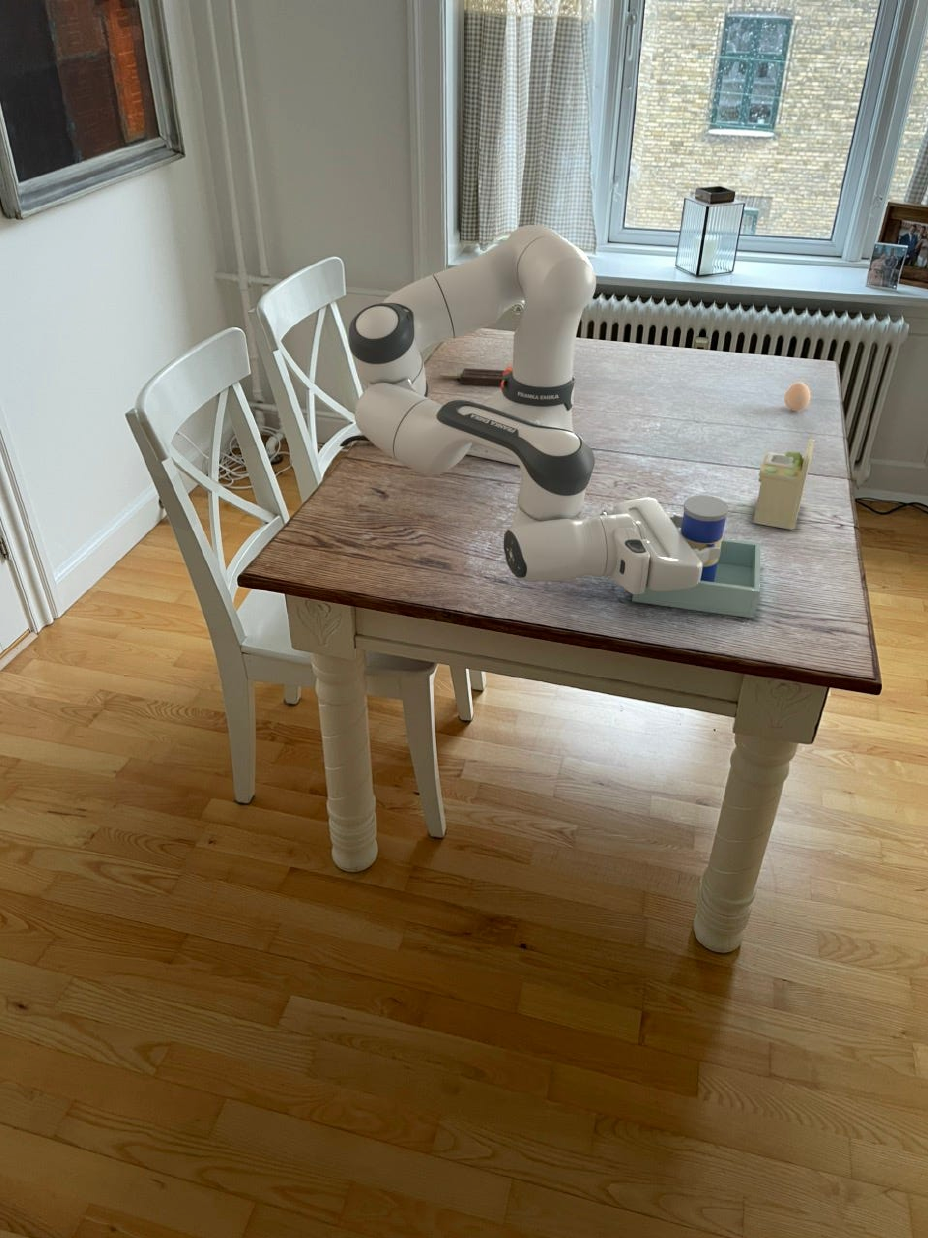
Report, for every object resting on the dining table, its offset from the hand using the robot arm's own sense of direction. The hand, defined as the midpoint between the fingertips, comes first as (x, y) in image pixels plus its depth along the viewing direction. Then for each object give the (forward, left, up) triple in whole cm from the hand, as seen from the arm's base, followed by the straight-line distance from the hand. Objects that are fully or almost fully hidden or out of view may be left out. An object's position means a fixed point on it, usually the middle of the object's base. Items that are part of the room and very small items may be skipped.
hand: (707, 536), depth 142 cm
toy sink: (+11, +25, -9) cm, 29 cm away
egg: (+15, +71, -9) cm, 73 cm away
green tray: (-1, 0, -9) cm, 9 cm away
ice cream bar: (-53, +70, -9) cm, 88 cm away
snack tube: (-1, 0, -8) cm, 8 cm away
